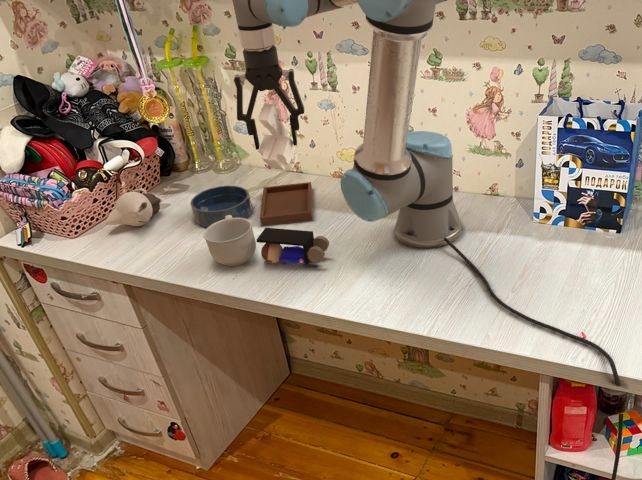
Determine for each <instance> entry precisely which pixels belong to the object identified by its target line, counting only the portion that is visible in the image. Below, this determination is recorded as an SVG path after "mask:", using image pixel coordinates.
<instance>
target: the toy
mask: <svg viewBox="0 0 642 480" xmlns="http://www.w3.org/2000/svg"><path fill="white" fill-rule="evenodd" d="M141 192H143V193H141ZM162 201H163V198H161V197H158V196H156V195H155V194H153V193H150V192H148V191H147V190H145V189H144V188H142V187H140V188H136V189H134V190H133V191H127V192H124V193H123V194H121V195H120V196H119V197H118V198H117V200H116V202H115V207H114V208H113V209H112V210H111V211H110V213H109V214H108V216H107V218H106V219H105V220H106V221H105V226H116V225H117V226H118V225H128V226H131V227H142V226H144V225H146V224H147V223H148V222H150V220H151V219H152V218H153V216H154V215H156V214H158V213H159V212H160V210H161V203H162Z"/></svg>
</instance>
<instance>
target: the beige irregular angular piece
mask: <svg viewBox="0 0 642 480" xmlns="http://www.w3.org/2000/svg"><path fill="white" fill-rule="evenodd" d="M278 108H279V105H278V104H277V103H274V104H272V103H263V106H262V108H261V109H260V111H259V115H258V121H259V122H260V123H261V125H262V126H263V127H264V128H266V129H267V130H268V131H269V133H270V134H267V133H266V134H265V133H264V134H263V135H264V136H263V138H262V141H261V142H260V146H259V149H258V151H257V152H258V153H259V154H260V156H261V160H262V161H264V163H265V164H266V165H267V166H268V167H269V168H270V169H273V170H280V171H281V170H282V171H285V169H286V167H287V166H289V165H290V164H293V165H296V164H297V162H298V159H299V156H300V155H299V154H298V153H295V150H296V145H295V146H294V144H293V139H291V138H290V137H291V134H290V133H289V131H288V130H287V128H286V127H285V126H284V125H283V124H282V122H281V121H280V120H279V119H280V118H281V117H280V116H281V113H280V112H279V110H278Z"/></svg>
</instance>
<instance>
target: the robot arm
mask: <svg viewBox="0 0 642 480" xmlns="http://www.w3.org/2000/svg"><path fill="white" fill-rule="evenodd" d="M231 1H232V5H233V10H234V15H235V20H236V25H237V31H238V36H239V40H240V46H241V48H242V49H243V50H242V56H243V61H244V66H245V73H243V74H238V73H237V74H235V75H234V78H233V83H234V85H235V88H236V120H237V121H239V122H241V121H242V122H244V123H245V125H246V131H247V134H248V136H252V138H253V143H254V148H255V150H256V151H257V150H258V151H259V148H260V146H261V143H260V139H259V135H258V130H257V125H256V119H255V118H252V116H253V113H254V109H255V104H256V100H257V97H258V93H259V92H264V91H274V92H275V94H276V95H277V96H278V97H279V99H280V100H281V102H282V103H283V105H284V106H285V108H286V109H287V111H288V112H289V125H290V131H291V138H292V141H293V145H294V146H295V147H296V146H298V139H297V131H299V130H300V121H299V116H300V115H304V114H305V106H304V103H303V100H302V98H301V95H300V92H299V88H298V85H297V83H296V80H295V69H293V68H289V69H282V67H281V65H280V62H279V55H278V49H277V46H275V44H276V37H275V30H274V25H276V26H279V27H283V28H295V27H297V26H300V25H301V24H302V23H303V22H304V20H306V18H309V17H313V16H315V15H316V16H317V15H319V14H322V13H323V14H324V13H327V12H331V11H334V10H339V9H344V8H348V7H352V6H357V5H358V6H359V8H360V10H361V11H362V12H363V14H364V15H365V20H366V23H367V24H368V25H369V26H370V27H371V29H372V41H371V52H370V64H369V73H368V85H367V96H366V107H365V118H364V131H363V140H362V143H361V144H359V146H357V147H356V149H355V151H354V158H353V167H352V168H351V169H347V170H346V171H345V172H344V173H342V175H341V177H340V191H341V193H342V196H343V198H344V200H345V203H346V204H347V206H348V207H349V208H350V210H351V211H352V212H353V213H354V214H355V215H356V216H357V217H358V218H359V219H361V220H363V221H365V222H369V223H371V222H372V223H373V222H376V221H379V220H382V219H385V218H387V217H388V216H390V215H392V214H394V213H396V212H398V215H397V219H396V222H395V227H394V228H395V236H396V238H397V240H399V242H400V243H402V244H404V245H407V246H409V247H414V248H419V249H431V248H438V247H443V246H446V245H449V247H450V248H452V250H454V252H456V254H457V255H459V256H460V257H461V258H462V259H463V261H464V262H465V263H466V264H467V265H468V266H469V267H470V268H471V269H472V270H473V271H474V273H476V275H477V276H478V277H479V279H481V281H482V282H483V284H484V286H485V288H486V289H487V291H488V294H489V295H490V296H491V297H492V299H493V300H495V302H496V303H498V304H499V305H500V306H502V307H503V308H504V309H506V310H507V311H509V312H511V313H512V314H514V315H516V316H518V317H520V318H521V319H523V320H525V321H527V322H529V323H532V324H534V325H536V326H539V327H542V328H544V329H548V330H550V331H553V332H555V333H557V334H559V335H562V336H565V337H567V338H570V339H573V340H575V341H578V342H579V343H583V344H585V345H587V346H589V347H592V348H593V349H595V350H597V351H598V352H599V353H600V354H601V355H602V356H604V357H605V358H606V360H607V361H608V363H609V365H610V368H611V371H612V375H613V379H614V381H615V385H616V386H618V387H621V386H622V384H621V380H620V377H619V374H618V370H617V367H616V364H615V363H616V362H615V361H614V359H613V358H612V356H611V355H610V354H609V353H608V352H607V351H605V349H603V348H602V347H601V346H599V345H598V344H596V343H594V342H593V341H591V340H589V339H586V338H583V337H581V336H578V335H576V334H574V333H573V334H572V333H569V332H568V331H565V330H563V329H560V328H559V327H556V326H553V325H550V324H547V323H544V322H542V321H540V320H536V319H534V318H531V317H530V316H528V315H526V314H524V313H521V312H520V311H518V310H516V309H515V308H513V307H510V305H508V304H506V303H505V302H503V300H502V299H500V298H499V297H498V296H497V295H496V294H495V292H494V290H492V287H491V286H490V284H489V282H488V280H487V278H485V276H484V275H483V273H481V272H480V271H479V269H478V268H477V267H476V266H475V265H474V264H473V262H471V261H470V259H469V258H468V257H467V256H466V255H465V254H464V253H463V252H461V250H460V249H458V248H457V246H456V245H455V244H453V243H452V242H454V241H456V240H457V239H458V238H459V237H460V236H461V233H462V220H461V218H460V216H459V213H458V209H457V207H456V205H455V202H454V193H453V192H454V190H453V189H454V187H453V186H454V185H453V182H454V181H453V180H454V179H453V178H454V177H453V176H454V175H453V169H454V168H453V157H454V154H453V149H452V141H451V139H450V138H448V137H447V136H446V135H444V134H441V133H438V132H434V131H426V130H416V131H409V130H410V123H411V118H412V117H411V116H412V108H413V103H414V96H415V88H416V81H417V74H418V68H419V60H420V53H421V48H422V47H421V46H422V40H423V36H424V35H425V34H427V33H429V31H431V30H432V28H433V24H434V19H435V18H434V17H435V12H436V5H438V4H441V3H444V2H447V1H448V0H231ZM282 77H284V78H285V81H288V85H289V88H290V91H291V93H292V97H293V99H294V103H295V104H296V107H297V108H296V107H295V105H294V103H293V102H292V101H291V99H290V97H289V96H288V94H287V93H286V92H285V90H284V89H283V87H282V85H281V83H280V80H281V79H282ZM246 81H247V82H248V83H249V84H250V85H251V86H252V91H251V95H250V97H249V103H248V106H247V110H246V113H244V85H245V82H246ZM623 427H624V413H618V428H617V440H616V448H615V455H614V462H613V467H612V474H611V479H610V480H616V479H617V474H618V469H619V463H620V456H621V449H622V441H623V432H624V431H623V429H624V428H623Z"/></svg>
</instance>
